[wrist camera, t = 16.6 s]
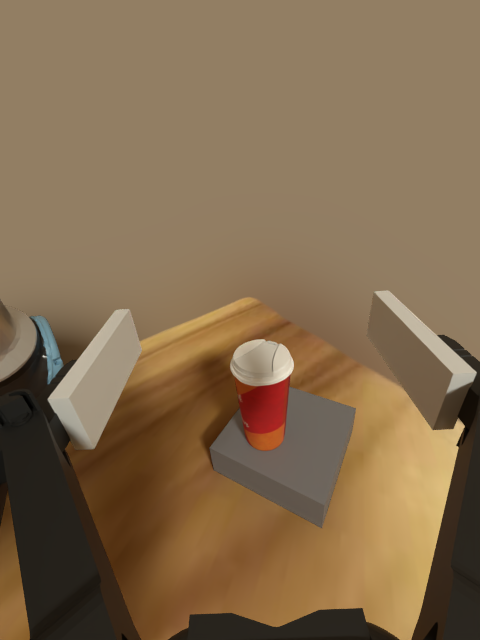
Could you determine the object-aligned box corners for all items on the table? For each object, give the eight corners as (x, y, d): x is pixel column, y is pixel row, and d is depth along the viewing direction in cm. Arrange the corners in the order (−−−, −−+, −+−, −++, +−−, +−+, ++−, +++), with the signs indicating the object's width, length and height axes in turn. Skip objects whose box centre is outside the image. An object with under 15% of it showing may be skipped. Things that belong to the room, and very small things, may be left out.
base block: (213, 470, 43) (209, 447, 41) (262, 398, 55) (261, 377, 52) (321, 528, 36) (324, 505, 33) (352, 430, 47) (355, 408, 45)
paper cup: (253, 406, 47) (248, 332, 40) (300, 424, 43) (303, 345, 36) (227, 444, 41) (215, 365, 34) (278, 468, 37) (277, 385, 30)
